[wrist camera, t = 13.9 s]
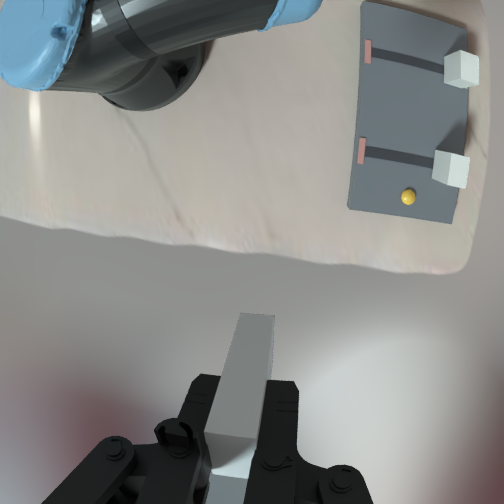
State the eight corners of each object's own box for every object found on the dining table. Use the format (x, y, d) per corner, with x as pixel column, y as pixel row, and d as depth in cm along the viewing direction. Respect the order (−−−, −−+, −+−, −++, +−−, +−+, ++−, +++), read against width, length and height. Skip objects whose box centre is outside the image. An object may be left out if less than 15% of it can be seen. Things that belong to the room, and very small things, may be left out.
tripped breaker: (435, 149, 32) (451, 153, 28) (452, 153, 32) (470, 157, 27) (431, 178, 33) (447, 185, 29) (448, 181, 33) (465, 189, 29)
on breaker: (444, 56, 27) (460, 49, 23) (461, 62, 27) (478, 56, 23) (444, 82, 29) (460, 78, 24) (461, 88, 28) (478, 85, 24)
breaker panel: (360, 6, 28) (364, -1, 26) (460, 33, 27) (468, 29, 25) (347, 205, 38) (350, 210, 36) (445, 219, 37) (452, 225, 34)
